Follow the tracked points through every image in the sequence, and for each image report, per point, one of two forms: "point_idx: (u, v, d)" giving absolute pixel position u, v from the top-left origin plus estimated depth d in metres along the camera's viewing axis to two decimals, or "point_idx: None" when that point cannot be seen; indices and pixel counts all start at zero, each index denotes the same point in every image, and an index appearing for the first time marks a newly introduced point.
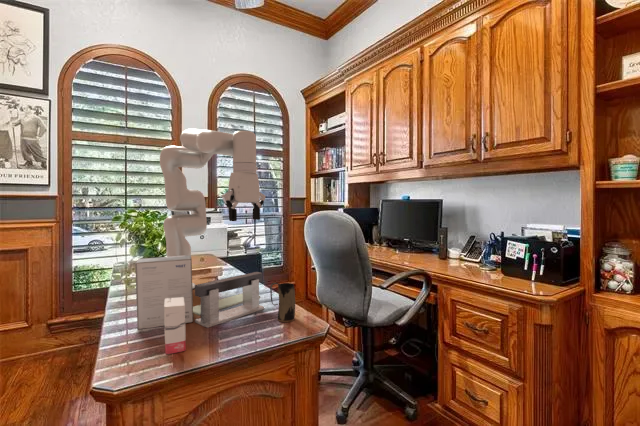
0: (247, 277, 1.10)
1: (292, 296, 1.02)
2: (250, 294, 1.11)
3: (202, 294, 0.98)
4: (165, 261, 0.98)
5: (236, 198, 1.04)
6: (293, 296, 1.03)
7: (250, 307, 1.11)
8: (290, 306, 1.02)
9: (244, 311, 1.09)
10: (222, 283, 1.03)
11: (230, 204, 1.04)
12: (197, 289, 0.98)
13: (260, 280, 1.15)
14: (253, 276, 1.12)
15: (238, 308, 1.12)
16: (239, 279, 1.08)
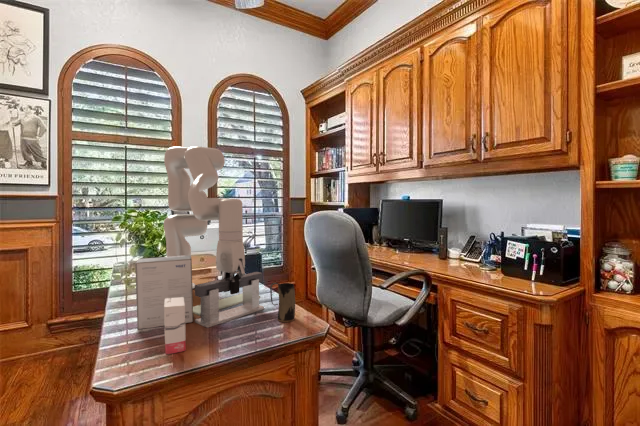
0: (247, 277, 1.10)
1: (292, 296, 1.02)
2: (250, 294, 1.11)
3: (202, 294, 0.98)
4: (165, 261, 0.98)
5: (244, 267, 1.05)
6: (293, 296, 1.03)
7: (250, 307, 1.11)
8: (290, 306, 1.02)
9: (244, 311, 1.09)
10: (222, 283, 1.03)
11: None
12: (197, 289, 0.98)
13: (260, 280, 1.15)
14: (253, 276, 1.12)
15: (238, 308, 1.12)
16: None
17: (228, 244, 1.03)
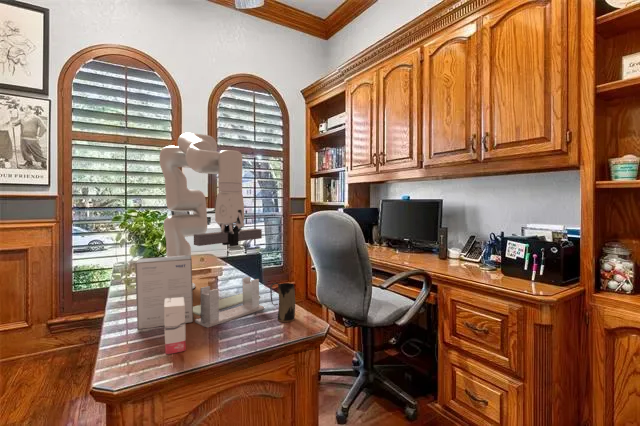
0: (246, 232, 1.10)
1: (292, 296, 1.02)
2: (250, 294, 1.11)
3: (201, 243, 0.97)
4: (165, 261, 0.98)
5: (243, 219, 1.05)
6: (293, 296, 1.03)
7: (250, 307, 1.11)
8: (290, 306, 1.02)
9: (244, 311, 1.09)
10: (221, 234, 1.02)
11: None
12: (196, 238, 0.98)
13: (259, 236, 1.14)
14: (252, 231, 1.12)
15: (238, 308, 1.12)
16: None
17: (227, 195, 1.03)
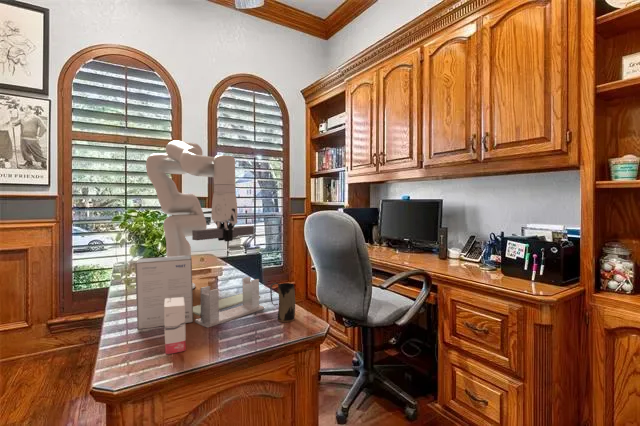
0: (240, 228, 1.22)
1: (292, 296, 1.02)
2: (250, 294, 1.11)
3: (199, 238, 1.09)
4: (165, 261, 0.98)
5: None
6: (293, 296, 1.03)
7: (250, 307, 1.11)
8: (290, 306, 1.02)
9: (244, 311, 1.09)
10: (217, 230, 1.14)
11: None
12: (194, 233, 1.09)
13: (252, 232, 1.26)
14: (245, 228, 1.24)
15: (238, 308, 1.12)
16: None
17: (222, 195, 1.15)
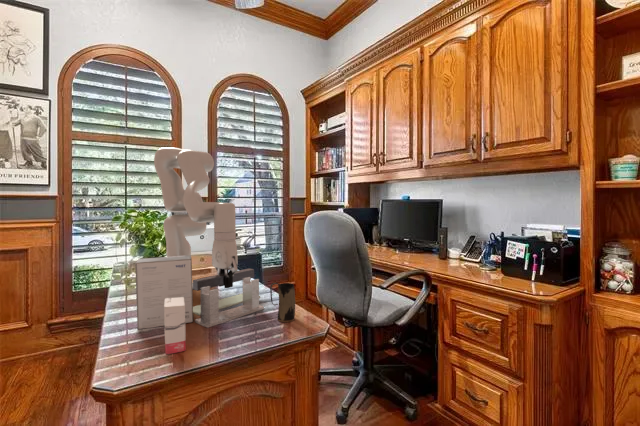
0: (240, 273, 1.23)
1: (292, 296, 1.02)
2: (250, 294, 1.11)
3: (199, 288, 1.10)
4: (165, 261, 0.98)
5: None
6: (293, 296, 1.03)
7: (250, 307, 1.11)
8: (290, 306, 1.02)
9: (244, 311, 1.09)
10: (217, 278, 1.15)
11: None
12: (194, 283, 1.10)
13: (252, 276, 1.27)
14: (245, 272, 1.25)
15: (238, 308, 1.12)
16: None
17: (222, 243, 1.16)
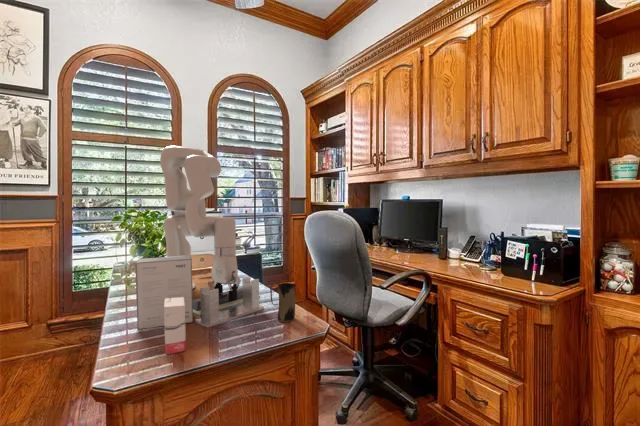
0: (240, 291, 1.23)
1: (292, 296, 1.02)
2: (250, 294, 1.11)
3: (199, 308, 1.10)
4: (165, 261, 0.98)
5: None
6: (293, 296, 1.03)
7: (250, 307, 1.11)
8: (290, 306, 1.02)
9: (244, 311, 1.09)
10: None
11: None
12: (194, 303, 1.11)
13: None
14: None
15: (238, 308, 1.12)
16: None
17: (222, 258, 1.16)
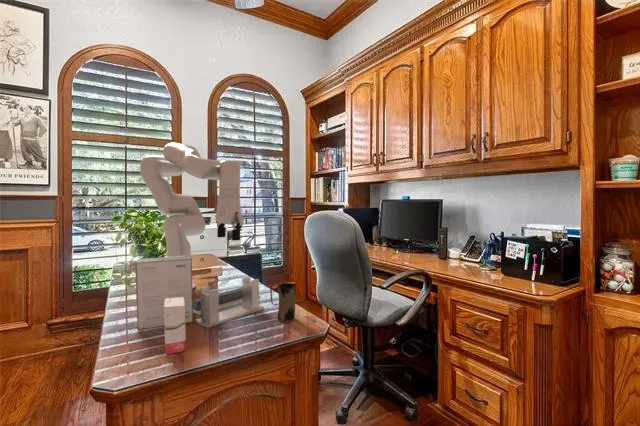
0: (240, 291, 1.23)
1: (292, 296, 1.02)
2: (250, 294, 1.11)
3: (199, 308, 1.10)
4: (165, 261, 0.98)
5: None
6: (293, 296, 1.03)
7: (250, 307, 1.11)
8: (290, 306, 1.02)
9: (244, 311, 1.09)
10: None
11: None
12: (194, 303, 1.11)
13: None
14: None
15: (238, 308, 1.12)
16: (232, 293, 1.21)
17: (226, 199, 1.20)
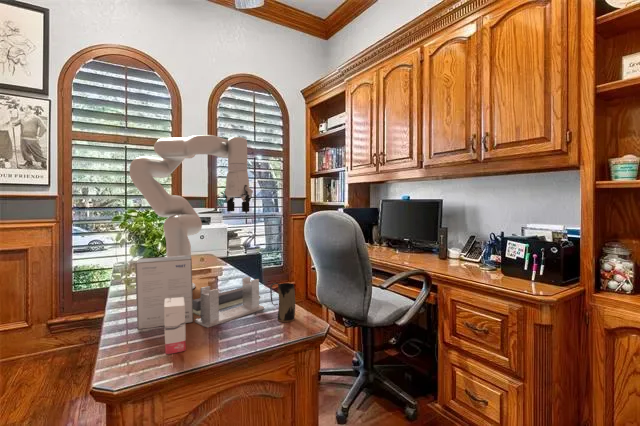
0: (240, 291, 1.23)
1: (292, 296, 1.02)
2: (250, 294, 1.11)
3: (199, 308, 1.10)
4: (165, 261, 0.98)
5: None
6: (293, 296, 1.03)
7: (250, 307, 1.11)
8: (290, 306, 1.02)
9: (244, 311, 1.09)
10: None
11: None
12: (194, 303, 1.11)
13: None
14: None
15: (238, 308, 1.12)
16: (232, 293, 1.21)
17: (235, 173, 1.27)
